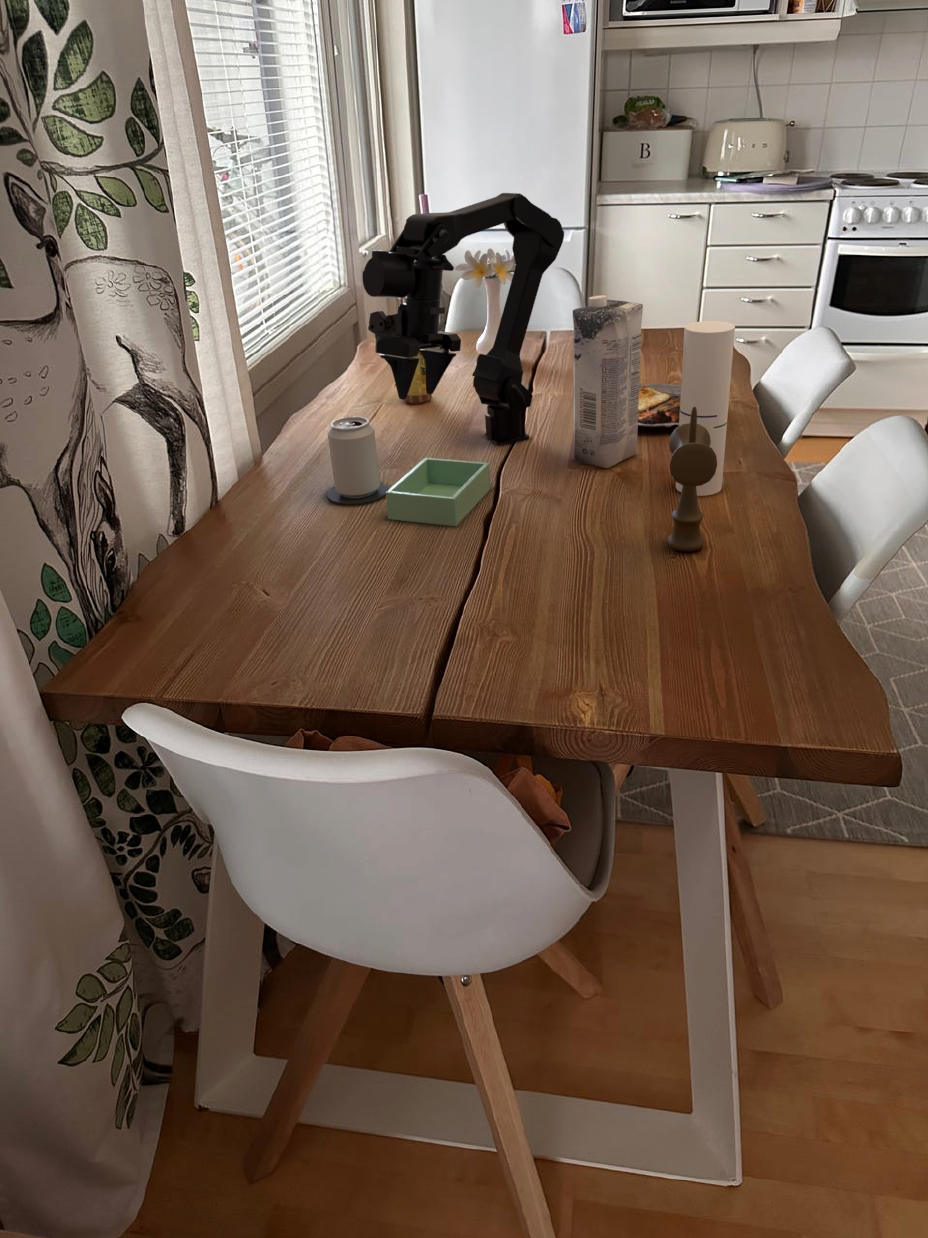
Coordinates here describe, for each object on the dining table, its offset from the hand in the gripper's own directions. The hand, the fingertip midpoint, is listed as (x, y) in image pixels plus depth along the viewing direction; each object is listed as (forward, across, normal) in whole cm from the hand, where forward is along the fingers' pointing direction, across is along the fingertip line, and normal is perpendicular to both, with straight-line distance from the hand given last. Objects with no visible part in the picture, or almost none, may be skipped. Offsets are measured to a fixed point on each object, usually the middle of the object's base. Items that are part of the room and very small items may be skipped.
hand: (416, 396), depth 156 cm
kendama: (+12, +13, +52) cm, 55 cm away
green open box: (+14, +10, +12) cm, 21 cm away
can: (+15, +11, -4) cm, 19 cm away
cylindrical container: (+8, -9, +48) cm, 49 cm away
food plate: (+3, -41, +30) cm, 51 cm away
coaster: (+15, +11, -4) cm, 19 cm away
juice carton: (+8, -16, +29) cm, 34 cm away
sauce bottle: (+8, -37, -20) cm, 43 cm away
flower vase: (+1, -71, -18) cm, 73 cm away
